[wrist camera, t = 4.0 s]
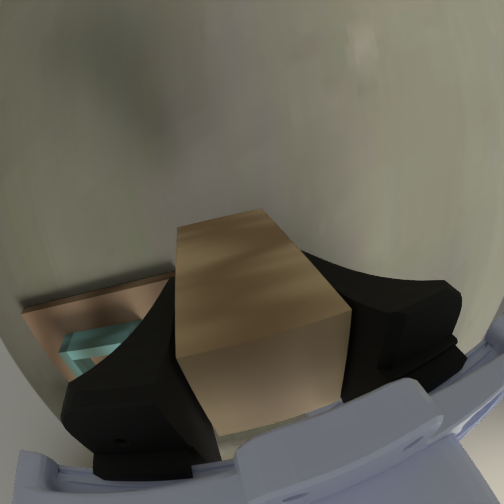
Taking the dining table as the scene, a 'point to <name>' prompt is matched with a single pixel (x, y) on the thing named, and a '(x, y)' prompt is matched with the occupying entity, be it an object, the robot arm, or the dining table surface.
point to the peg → (255, 323)
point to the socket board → (91, 322)
